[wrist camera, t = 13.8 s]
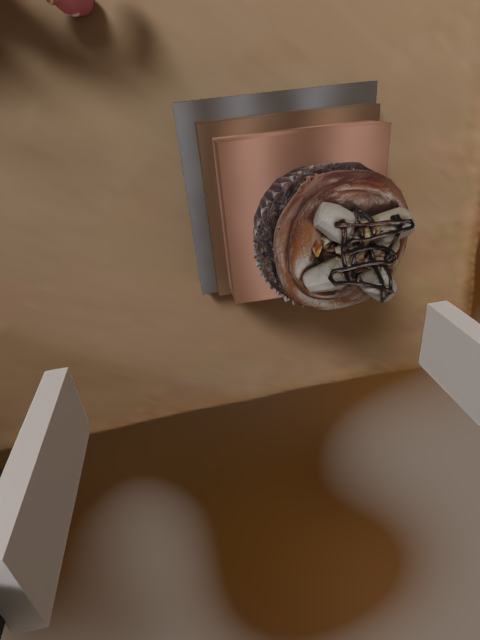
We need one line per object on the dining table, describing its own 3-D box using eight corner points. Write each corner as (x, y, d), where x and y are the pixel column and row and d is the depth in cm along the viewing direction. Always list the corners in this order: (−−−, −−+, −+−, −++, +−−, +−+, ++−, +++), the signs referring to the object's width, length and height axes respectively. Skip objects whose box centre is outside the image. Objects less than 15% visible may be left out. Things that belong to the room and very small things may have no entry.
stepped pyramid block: (200, 282, 43) (208, 335, 34) (172, 102, 35) (172, 104, 25) (353, 260, 44) (403, 304, 35) (362, 81, 36) (431, 76, 26)
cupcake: (235, 161, 27) (264, 191, 19) (372, 144, 28) (462, 165, 19) (247, 289, 32) (275, 360, 23) (364, 271, 33) (433, 334, 24)
